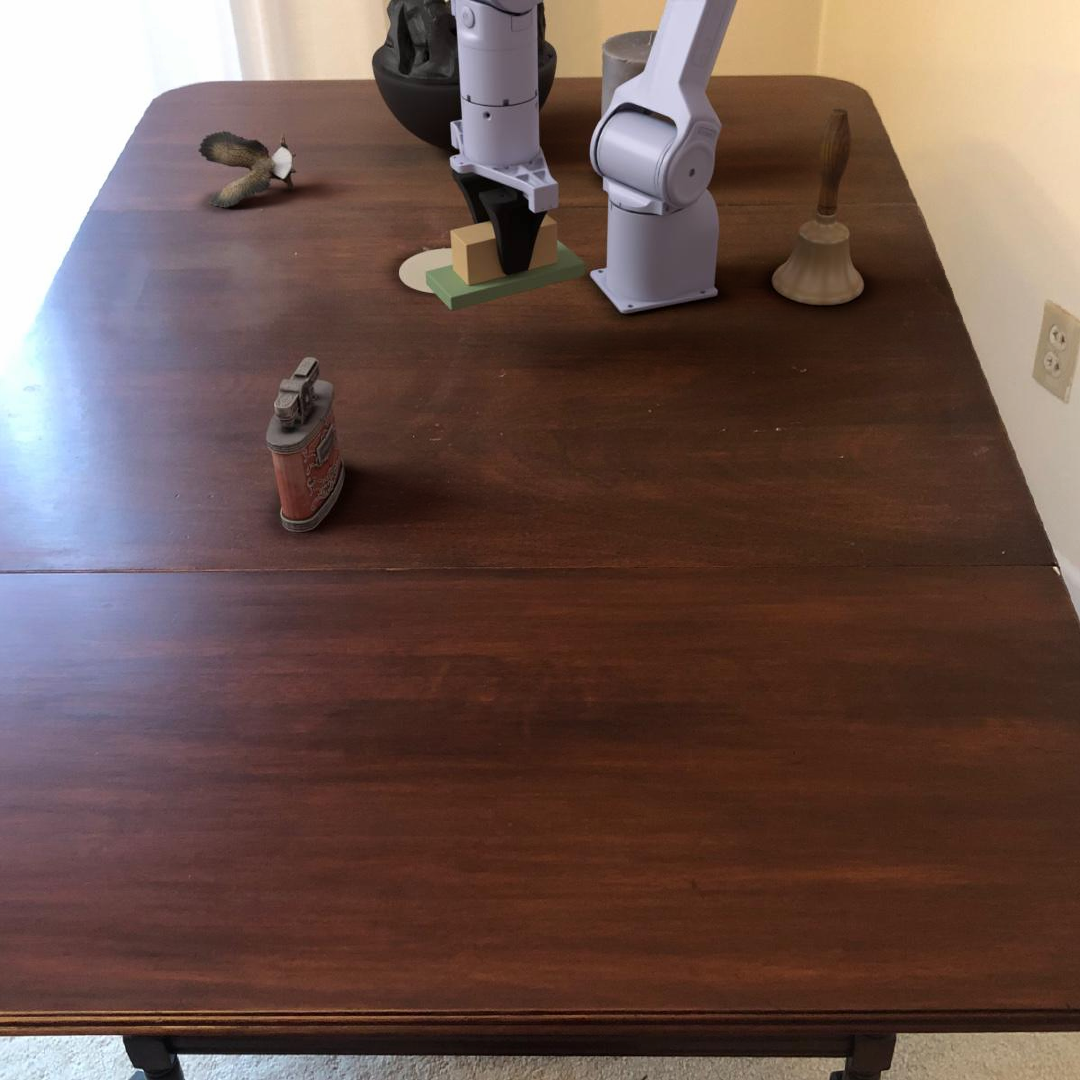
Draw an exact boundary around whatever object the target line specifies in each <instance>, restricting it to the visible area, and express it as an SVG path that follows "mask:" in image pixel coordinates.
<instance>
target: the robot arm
mask: <svg viewBox="0 0 1080 1080" xmlns="http://www.w3.org/2000/svg"><path fill="white" fill-rule="evenodd" d="M544 1H545V0H451V8H452V15H453V16H455V19H456V20H457V38H458V55H459V72H460V90H461V108H462V120H458V121H453V122H451V138H452V145H453V146H454V147H455V148H456V149H459V150H460V152H459V154H455V155H451V156H450V157H449V165H450V167H451V168H452V170H451V176H452V178H453V180H454V182H455V183H456V185H457V186H458V189H459V190H460V192H461V194H462V196H463V198H464V200H465V202H466V204H467V207H468V210H469V212H470V216H471V219H472V222H473V225H475V224H479V223H483V222H487V221H491V223H492V226H493V230H494V234H495V238H496V245H497V252H498V257H499V262H500V265H501V268H502V271H503V273H504V274H505V275H511V274H515V273H519V272H523V271H527V270H528V269H529V266H530V262H531V258H532V254H533V250H534V246H535V242H536V238H537V235H538V232H539V229H540V226H541V224H542V221H543V219H544V217H545V215H546V214H547V213H548V211H549V210H554V209H558V208H559V182H558V181H556V180H555V179H554V178H553V176H552V175H551V173H550V169H549V166H548V164H547V161H546V158H545V155H544V151H543V149H542V147H541V146H540V112H539V103H538V51H537V4H538V3H541V2H543V3H544ZM737 3H738V0H666V4H665V6H664V9H663V12H662V16H661V19H660V21H659V25H658V28H657V29H656V31H657V33H656V36H655V39H654V43H653V46H652V49H651V52H650V55H649V58H648V61H647V64H646V67H645V70H644V71H643V72H642V73H641V74H639V75H638V76H636V77H634V78H633V79H631V80H629V81H627V82H625V83H624V84H622V85H621V86H619V87H618V88H617V89H616V90H615V93H614V96H613V99H612V102H611V104H610V106H609V108H608V110H607V112H606V113H605V115H604V116H603V117H602V116H601V118H602V119H601V118H600V120H599V121H598V123H597V125H596V126H595V129H594V131H593V133H592V136H591V140H590V146H589V158H590V163H591V166H592V169H593V170H594V171H595V172H596V174H597V175H598V176H600V177H601V178H602V177H603V178H602V190H603V191H605V192H606V193H607V196H608V198H607V200H608V201H607V203H608V204H607V235H606V236H607V238H606V239H607V240H606V241H607V242H606V243H607V244H606V267H604V268H599V269H594V270H591V271H590V274H589V277H590V278H591V279H592V280H593V282H595V284H596V285H597V286H598V287H599V288H600V290H601V291H602V292H603V293H604V294H605V295H606V297H607V298H608V299H609V300H610V301H611V303H612V304H613V305H614V306H615V308H616V309H617V310H618V311H619V312H620V313H621V314H624V315H627V314H631V313H632V314H633V313H637V312H642V311H646V310H652V309H657V308H662V307H663V308H664V307H667V306H672V305H673V306H674V305H677V304H683V303H689V302H693V301H698V300H704V299H709V298H714V297H716V296H718V293H719V292H718V289H717V287H715V283H716V282H715V281H716V271H717V259H718V258H717V256H718V246H719V237H720V236H719V235H720V220H719V219H720V218H719V213H718V208H717V204H716V201H715V199H714V197H713V195H712V194H711V192H710V191H709V190H708V189H707V188H708V186H709V185H710V183H711V180H712V177H713V174H714V170H715V162H716V161H715V160H716V148H717V144H718V139H719V136H720V135H721V131H722V127H723V126H722V122H721V121H720V118H719V116H718V115H717V113H716V111H715V109H714V107H713V105H712V104H711V102H710V100H709V98H708V96H707V94H706V91H707V88H708V86H709V82H710V80H711V76H712V74H713V71H714V68H715V66H716V63H717V60H718V57H719V54H720V51H721V48H722V45H723V43H724V40H725V37H726V34H727V32H728V28H729V26H730V22H731V20H732V16H733V14H734V11H735V8H736V6H737ZM656 112H657V113H660V114H663V115H665V116H668V117H670V118H671V119H673V120H674V122H675V123H676V126H675V125H673V124H670V123H668V122H665V121H662V120H660V119H657V118H655V117H652V116H651V115H652V114H654V113H656Z"/></svg>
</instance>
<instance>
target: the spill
mask: <svg viewBox="0 0 1080 1080" xmlns="http://www.w3.org/2000/svg"><path fill="white" fill-rule="evenodd" d="M449 265H453V262H452V247H448V248H447V247H446V248H437V249H431V250H426V251H423V252H420V253H417V254H414V255H413V256H411V257H409V258H407V259H406V260H405V261H404V262H403V263H402V264H401V266H400V267H399V272H398V276H399V278H400V280H401V281H402V282H403V284H405V285H406V286H407V287H409V288H411V289H414V290H416V291H418V292H422V293H427V294H435V293H434V292H433V291H432V290H431V289H430V288H429V286H428V285H427V284H426V273H425V272H426V271H429V270H433V269H437V268H441V267H445V266H449Z"/></svg>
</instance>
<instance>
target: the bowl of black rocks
mask: <svg viewBox="0 0 1080 1080" xmlns="http://www.w3.org/2000/svg"><path fill="white" fill-rule="evenodd" d="M545 10H546V8H545V3H544V1H543V2H541V3H538V4H537V51H538V103H539V113H540V112H541V110H542V109H543V107H544V105H545V104H546V102H547V99H548V98H549V95H550V93H551V90H552V88H553V84H554V81H555V77H556V71H557V64H558V54H557V50H556V48H555V47H554V46H553V45H552V43H550V42H549V41H547V40H546V29H547V22H546V21H547V19H546V15H545ZM386 14H387V17H388V19H389V22H390V23H389V24H390V26H389V29H388V31H387V33H386V39H385V40H384V43H383V44H382V45H381V46H380V47H378V48H377V49H376V50H375V51H374V52H373V55H372V58H371V68H372V72H373V77H374V80H375V83H376V86H377V89H378V91H379V93H380V95H381V98H382V100H383V102H384V103H385V105H386V106H387V108H388V110H389V111H390V112H391V114H392V115H393V117H394V118H395V119H396V120H397V121H398V123H400V124H401V126H403V127H404V128H405V129H406V130H407V131H408V132H409V133H410V134H412V135H414V136H415V137H416V138H418V139H419V140H421V141H423V142H425V143H427V144H428V145H430V146H434V147H437V148H439V149H442V150H446V151H452V152H459V153H460V150H459V149H456V148H455V147H454V146H453V145H452V138H451V122H453V121H458V120H462V108H461V90H460V72H459V55H458V38H457V20H456V19H455V16H453V15H452V8H451V0H447V1H446V0H390V1H389V2H388V5H387V7H386Z"/></svg>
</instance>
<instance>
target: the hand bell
mask: <svg viewBox="0 0 1080 1080" xmlns="http://www.w3.org/2000/svg"><path fill="white" fill-rule="evenodd" d="M848 113H849V112H848V110H847V109H845V108H835V109H832V111H831V114H830V116H829V118H828V121H827V123H826V125H825V127H824V129H823V132H822V134H821V138H820V142H819V149H818V150H819V151H818V167H819V174H820V183H821V184H820V191H819V196H818V201H817V202H818V204H817V207H816V211H817V212H816V216H815V219H812V220H810V221H806V222H805V223H803V224H802V225H801V226H800V227H799V229H798V234H797V236H796V237H797V238H796V241H795V244H794V247H793V250H792V252H791V254H790V256H789V258H788V259H787V261H785V262H784V263H782V264H781V265H779V267H778V268H777V269H776V270H775V271H774V273H773V275H772V276H771V284H772V287H773V288H774V290H775V291H776V292H777V293H778V294H780V295H781V296H783V297H785V298H787V299H789V300H790V301H794V302H798V303H801V304H805V305H810V306H835V305H840V304H841V305H842V304H845V303H849V302H850V301H853V300H854V299H856V298H857V297H859V296H860V295H861V294H862V293H863V291H864V288H865V283H864V280H863V277H862V275H861V274H860V272H859V271H858V270H857V269H856V268H855V267H854V264H853V263H852V258H851V251H850V249H851V248H850V235H851V233H850V231H849V228H848V227H847V226H846V225H845V224H843V223H842V222H838V221H837V211H838V202H839V201H838V200H839V199H838V198H839V188H840V183H841V181H842V177H843V175H844V173H845V171H846V169H847V166H848V163H849V158H850V154H851V149H852V134H851V129H850V128H851V127H850V123H849V115H848Z"/></svg>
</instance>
